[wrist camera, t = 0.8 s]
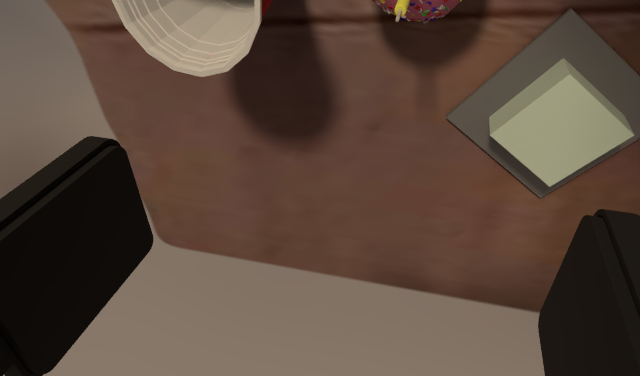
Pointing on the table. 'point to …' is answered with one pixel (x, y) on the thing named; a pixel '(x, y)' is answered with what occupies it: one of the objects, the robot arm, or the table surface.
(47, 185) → the robot arm
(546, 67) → the mat
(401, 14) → the cupcake
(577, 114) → the block
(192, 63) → the plastic cup
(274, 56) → the table surface
